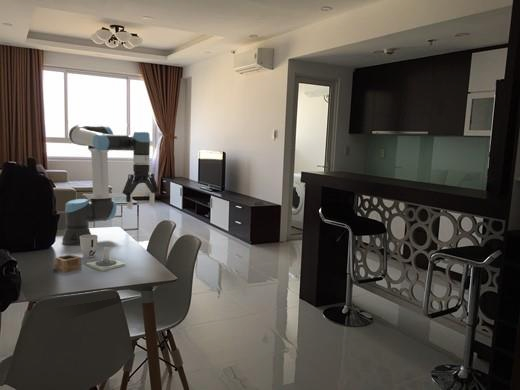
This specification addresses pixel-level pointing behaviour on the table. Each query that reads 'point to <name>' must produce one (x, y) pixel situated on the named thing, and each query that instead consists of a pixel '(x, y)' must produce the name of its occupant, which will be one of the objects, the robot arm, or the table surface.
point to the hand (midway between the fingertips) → (141, 207)
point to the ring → (67, 262)
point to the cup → (88, 245)
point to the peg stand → (106, 262)
